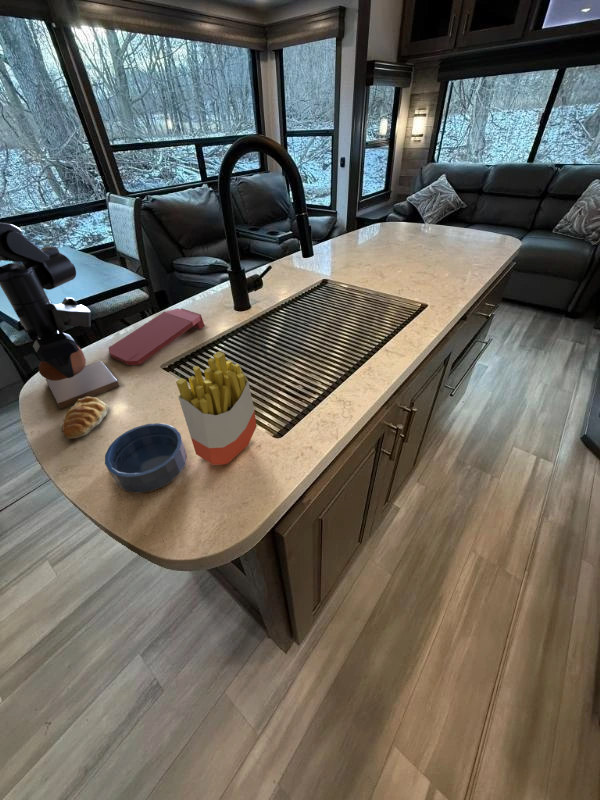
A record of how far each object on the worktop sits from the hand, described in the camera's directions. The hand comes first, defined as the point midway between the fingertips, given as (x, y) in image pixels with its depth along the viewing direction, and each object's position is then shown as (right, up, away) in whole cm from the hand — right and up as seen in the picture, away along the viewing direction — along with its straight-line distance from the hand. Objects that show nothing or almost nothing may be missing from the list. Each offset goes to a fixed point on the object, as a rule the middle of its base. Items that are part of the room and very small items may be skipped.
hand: (66, 369), depth 71 cm
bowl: (+24, -18, -14) cm, 33 cm away
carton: (+11, +10, +22) cm, 26 cm away
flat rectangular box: (0, -3, +5) cm, 6 cm away
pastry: (+7, -11, -4) cm, 14 cm away
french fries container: (+37, -16, -11) cm, 42 cm away
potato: (0, -1, +1) cm, 2 cm away
